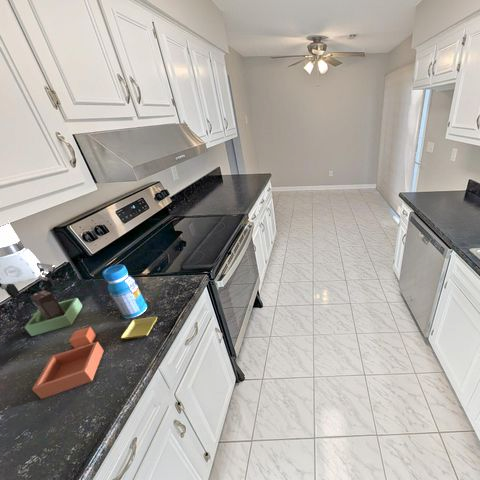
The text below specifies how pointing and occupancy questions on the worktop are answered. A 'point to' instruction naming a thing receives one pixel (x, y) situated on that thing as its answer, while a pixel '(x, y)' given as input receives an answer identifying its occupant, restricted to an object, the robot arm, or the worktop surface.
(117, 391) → the worktop surface
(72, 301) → the sage bin
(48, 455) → the worktop surface
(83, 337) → the block
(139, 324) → the yellow flat square tray
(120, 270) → the blue medicine bottle
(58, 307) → the box
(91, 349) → the terracotta bin
